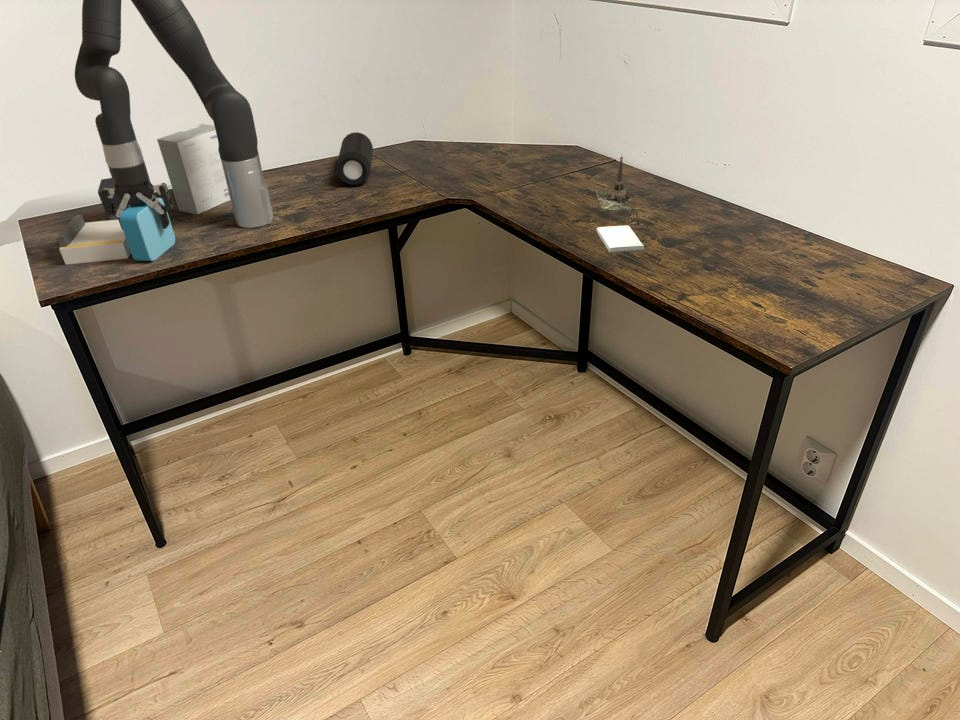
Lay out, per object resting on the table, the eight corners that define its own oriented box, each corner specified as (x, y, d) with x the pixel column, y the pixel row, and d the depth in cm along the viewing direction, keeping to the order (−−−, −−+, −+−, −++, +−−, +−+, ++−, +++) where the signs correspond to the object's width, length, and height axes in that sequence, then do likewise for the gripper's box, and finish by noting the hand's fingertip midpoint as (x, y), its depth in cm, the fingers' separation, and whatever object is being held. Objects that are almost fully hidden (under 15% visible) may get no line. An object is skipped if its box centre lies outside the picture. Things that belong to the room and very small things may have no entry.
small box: (113, 216, 183) (99, 178, 178) (138, 212, 185) (126, 174, 179) (110, 230, 175) (95, 191, 169) (136, 225, 177) (123, 187, 171)
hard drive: (644, 245, 154) (629, 224, 165) (609, 247, 154) (596, 226, 164) (643, 252, 155) (628, 230, 166) (608, 254, 155) (595, 232, 165)
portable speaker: (344, 162, 217) (339, 131, 211) (375, 160, 218) (371, 129, 212) (338, 189, 196) (332, 155, 190) (372, 187, 197) (367, 153, 191)
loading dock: (143, 232, 173) (135, 208, 169) (128, 258, 160) (119, 232, 156) (85, 237, 171) (76, 213, 167) (65, 264, 158) (55, 239, 154)
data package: (160, 242, 168) (145, 195, 161) (177, 242, 167) (163, 196, 160) (134, 263, 158) (117, 214, 151) (152, 263, 157) (135, 215, 150)
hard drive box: (221, 193, 196) (203, 123, 185) (239, 197, 193) (222, 126, 182) (177, 211, 185) (155, 138, 174) (196, 215, 182) (175, 141, 170)
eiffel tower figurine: (593, 192, 188) (596, 144, 181) (629, 191, 188) (634, 143, 181) (601, 212, 176) (605, 162, 168) (639, 211, 176) (645, 160, 168)
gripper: (162, 154, 154) (181, 221, 163) (97, 158, 152) (119, 225, 161) (155, 164, 148) (174, 232, 157) (86, 168, 146) (110, 238, 155)
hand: (146, 229), depth 159 cm, fingers open, 8 cm apart
